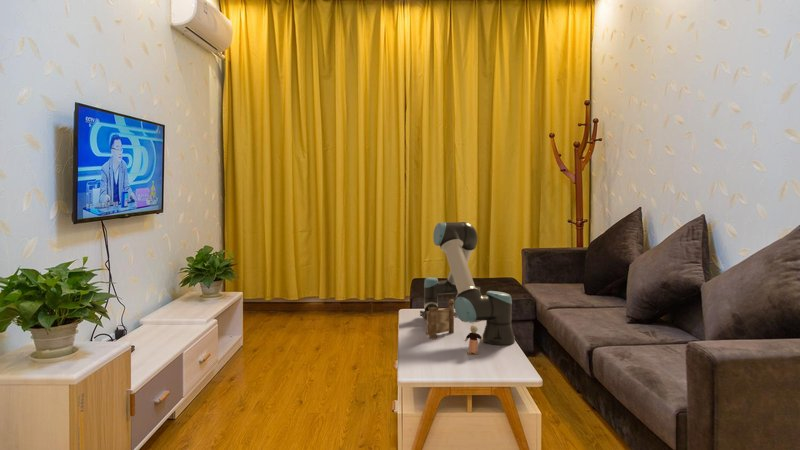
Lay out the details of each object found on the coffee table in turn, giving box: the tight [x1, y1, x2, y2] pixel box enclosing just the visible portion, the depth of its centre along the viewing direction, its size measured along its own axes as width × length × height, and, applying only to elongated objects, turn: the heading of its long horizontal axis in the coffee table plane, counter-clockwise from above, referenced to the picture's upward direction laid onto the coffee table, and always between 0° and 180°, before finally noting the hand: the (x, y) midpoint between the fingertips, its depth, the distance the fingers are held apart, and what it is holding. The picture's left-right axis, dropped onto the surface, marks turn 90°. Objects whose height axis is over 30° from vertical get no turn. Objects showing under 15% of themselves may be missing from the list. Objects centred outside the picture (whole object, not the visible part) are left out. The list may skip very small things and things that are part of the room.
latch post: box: [428, 307, 439, 340], centre depth 249 cm, size 3×3×15 cm
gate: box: [425, 307, 450, 336], centre depth 254 cm, size 14×2×11 cm, turn 125°
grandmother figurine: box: [464, 324, 484, 355], centre depth 226 cm, size 8×4×13 cm, turn 89°
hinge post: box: [447, 298, 455, 335], centre depth 259 cm, size 3×3×17 cm
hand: (433, 321), depth 255 cm, fingers closed
